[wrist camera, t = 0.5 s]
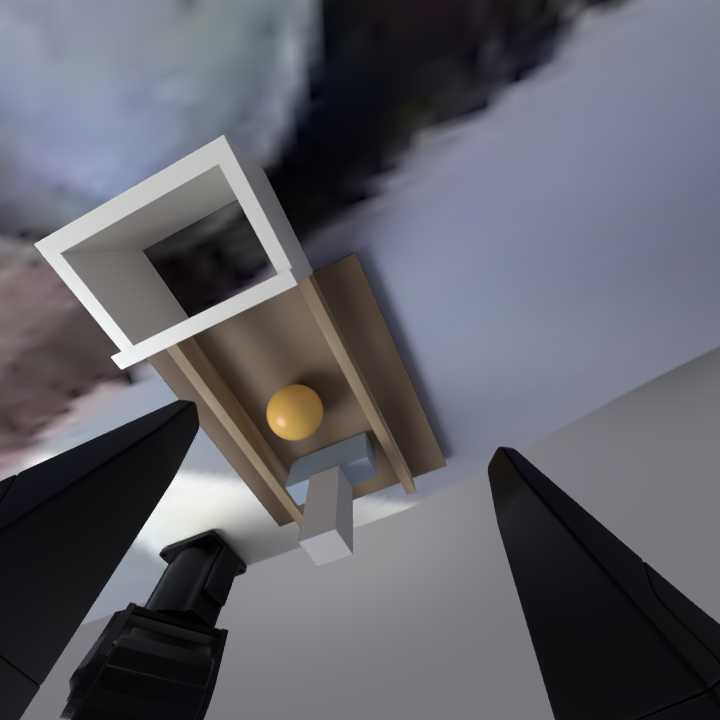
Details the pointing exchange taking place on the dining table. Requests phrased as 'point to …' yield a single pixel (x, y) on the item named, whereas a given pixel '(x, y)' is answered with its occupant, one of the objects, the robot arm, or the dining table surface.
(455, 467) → the dining table surface
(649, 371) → the dining table surface
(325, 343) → the board
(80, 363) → the dining table surface
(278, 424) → the ball
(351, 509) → the striker
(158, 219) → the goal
